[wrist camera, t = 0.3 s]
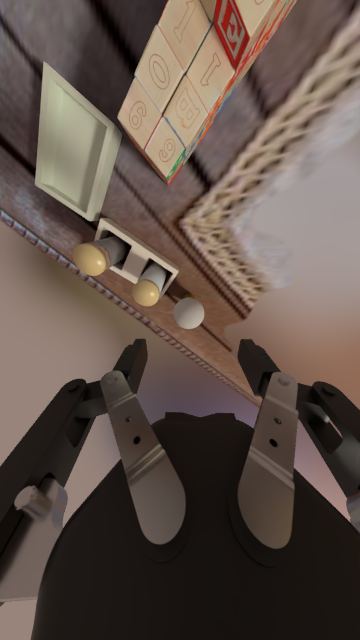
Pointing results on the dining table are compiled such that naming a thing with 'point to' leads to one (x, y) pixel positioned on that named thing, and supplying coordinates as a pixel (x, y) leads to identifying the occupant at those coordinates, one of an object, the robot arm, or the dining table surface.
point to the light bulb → (188, 312)
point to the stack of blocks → (193, 73)
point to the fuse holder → (135, 254)
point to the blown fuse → (100, 254)
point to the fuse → (150, 285)
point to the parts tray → (74, 147)
